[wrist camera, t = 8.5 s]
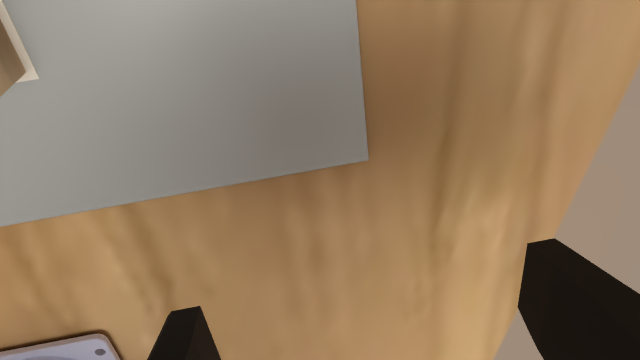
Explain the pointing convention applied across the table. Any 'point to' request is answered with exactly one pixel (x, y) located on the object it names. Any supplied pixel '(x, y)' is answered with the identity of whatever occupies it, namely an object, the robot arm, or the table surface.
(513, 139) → the table surface
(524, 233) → the table surface
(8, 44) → the oak base block
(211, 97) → the build plate
